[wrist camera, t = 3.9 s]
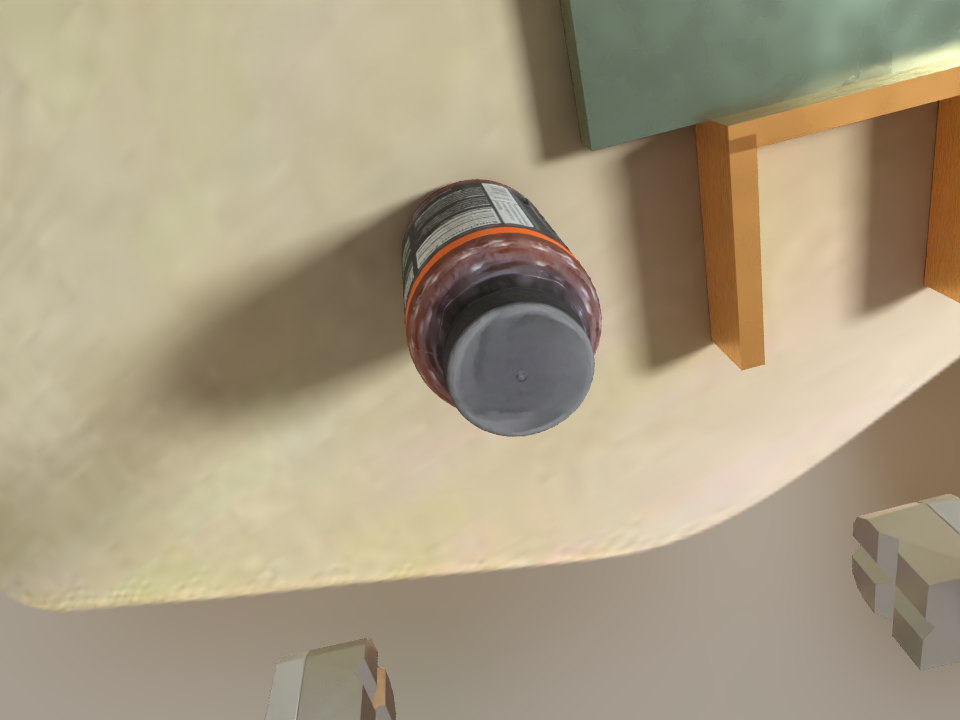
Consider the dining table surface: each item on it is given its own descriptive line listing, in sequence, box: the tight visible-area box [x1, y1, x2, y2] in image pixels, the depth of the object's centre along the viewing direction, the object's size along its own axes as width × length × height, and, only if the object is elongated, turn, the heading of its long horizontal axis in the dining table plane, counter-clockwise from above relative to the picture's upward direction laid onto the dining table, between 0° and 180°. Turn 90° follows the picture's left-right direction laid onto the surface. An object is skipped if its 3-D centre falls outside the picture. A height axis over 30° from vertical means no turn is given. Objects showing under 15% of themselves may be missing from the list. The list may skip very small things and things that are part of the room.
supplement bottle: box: [402, 179, 602, 436], centre depth 23 cm, size 6×6×11 cm
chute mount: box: [560, 0, 960, 370], centre depth 25 cm, size 20×22×3 cm
